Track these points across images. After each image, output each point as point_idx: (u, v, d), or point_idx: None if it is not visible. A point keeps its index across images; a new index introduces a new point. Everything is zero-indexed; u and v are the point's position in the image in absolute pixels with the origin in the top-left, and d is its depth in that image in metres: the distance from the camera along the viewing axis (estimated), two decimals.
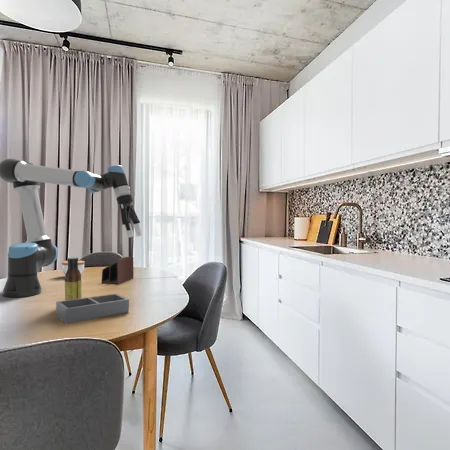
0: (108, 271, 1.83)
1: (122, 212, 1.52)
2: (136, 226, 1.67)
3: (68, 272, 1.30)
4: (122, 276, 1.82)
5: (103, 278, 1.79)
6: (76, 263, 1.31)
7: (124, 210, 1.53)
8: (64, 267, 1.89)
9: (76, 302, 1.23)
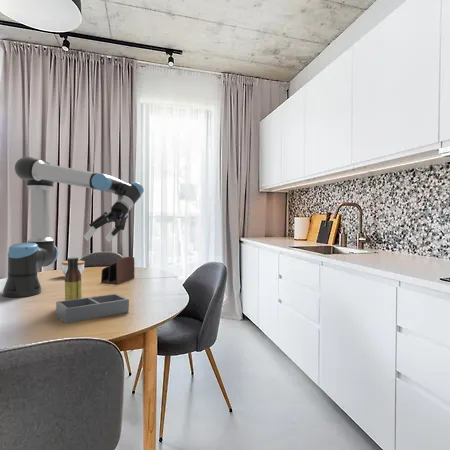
0: (108, 271, 1.84)
1: (123, 219, 1.45)
2: (93, 230, 1.47)
3: (68, 272, 1.30)
4: (122, 276, 1.82)
5: (103, 278, 1.79)
6: (76, 263, 1.31)
7: (125, 220, 1.46)
8: (64, 267, 1.89)
9: (76, 302, 1.23)
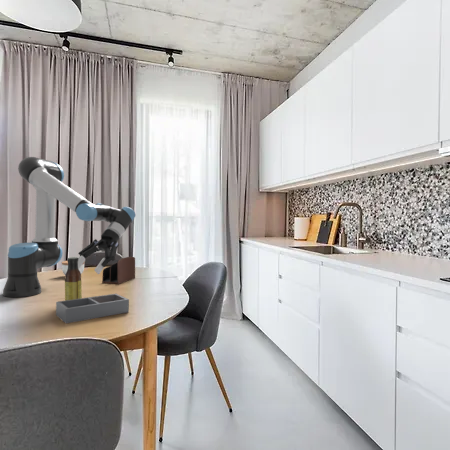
0: (109, 271, 1.84)
1: (114, 249, 1.39)
2: (82, 259, 1.41)
3: (68, 272, 1.30)
4: (123, 276, 1.82)
5: (104, 278, 1.79)
6: (76, 263, 1.31)
7: (116, 249, 1.40)
8: (64, 267, 1.89)
9: (76, 302, 1.23)
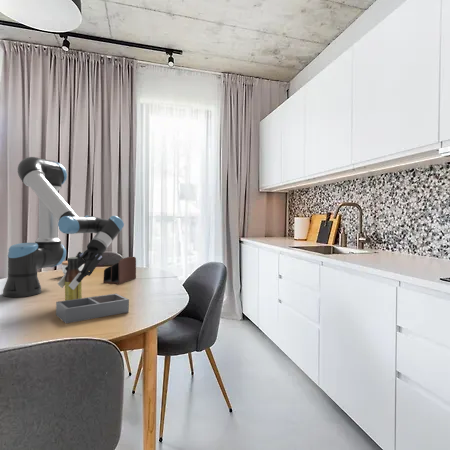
0: (110, 271, 1.84)
1: (94, 263, 1.33)
2: None
3: (68, 272, 1.30)
4: (124, 276, 1.82)
5: (105, 278, 1.79)
6: (76, 263, 1.31)
7: (97, 263, 1.35)
8: (64, 267, 1.89)
9: (76, 302, 1.23)
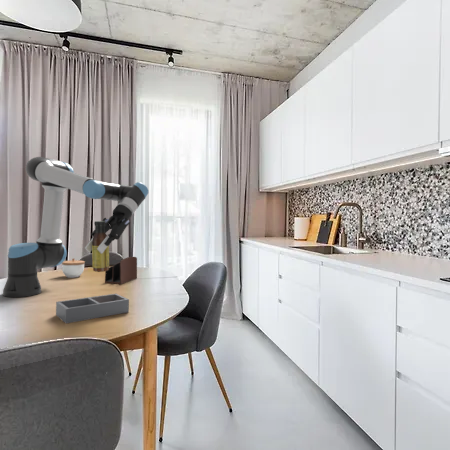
0: (111, 271, 1.84)
1: (122, 227, 1.28)
2: None
3: (95, 235, 1.24)
4: (125, 276, 1.82)
5: (106, 278, 1.79)
6: (103, 226, 1.26)
7: (124, 227, 1.30)
8: (64, 267, 1.89)
9: (76, 302, 1.23)
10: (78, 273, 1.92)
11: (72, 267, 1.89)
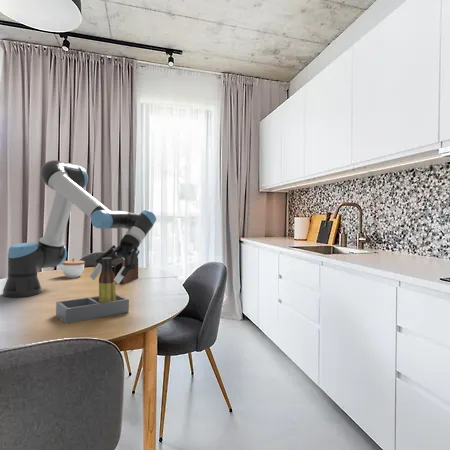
0: (113, 271, 1.84)
1: (135, 256, 1.27)
2: (99, 268, 1.30)
3: (102, 273, 1.23)
4: (127, 276, 1.82)
5: None
6: (110, 263, 1.25)
7: (136, 256, 1.28)
8: (64, 267, 1.89)
9: (76, 302, 1.23)
10: (78, 273, 1.92)
11: (72, 267, 1.89)
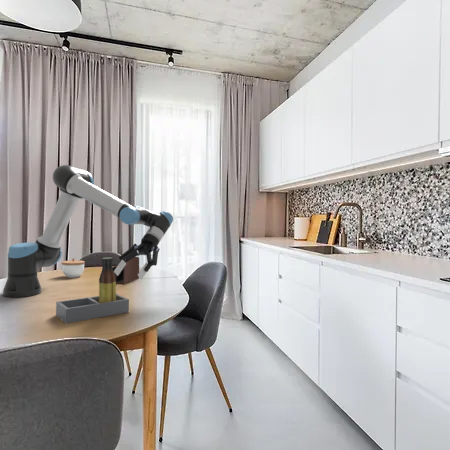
0: None
1: (156, 253, 1.38)
2: (123, 264, 1.41)
3: (103, 273, 1.23)
4: (129, 276, 1.83)
5: None
6: (111, 263, 1.25)
7: (157, 254, 1.40)
8: (64, 267, 1.89)
9: (76, 302, 1.23)
10: (78, 273, 1.92)
11: (72, 267, 1.89)
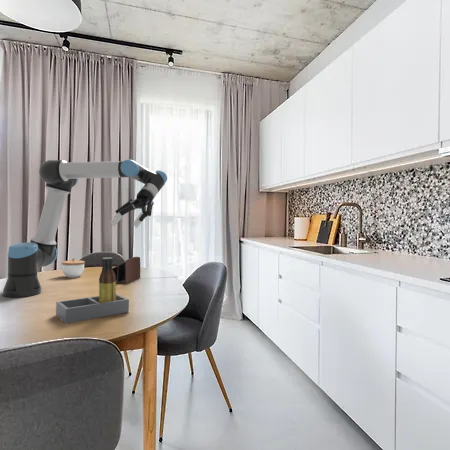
0: (116, 271, 1.84)
1: (150, 206, 1.47)
2: (119, 216, 1.49)
3: (103, 273, 1.23)
4: (130, 276, 1.83)
5: None
6: (111, 263, 1.25)
7: (151, 206, 1.48)
8: (64, 267, 1.89)
9: (76, 302, 1.23)
10: (78, 273, 1.92)
11: (72, 267, 1.89)
